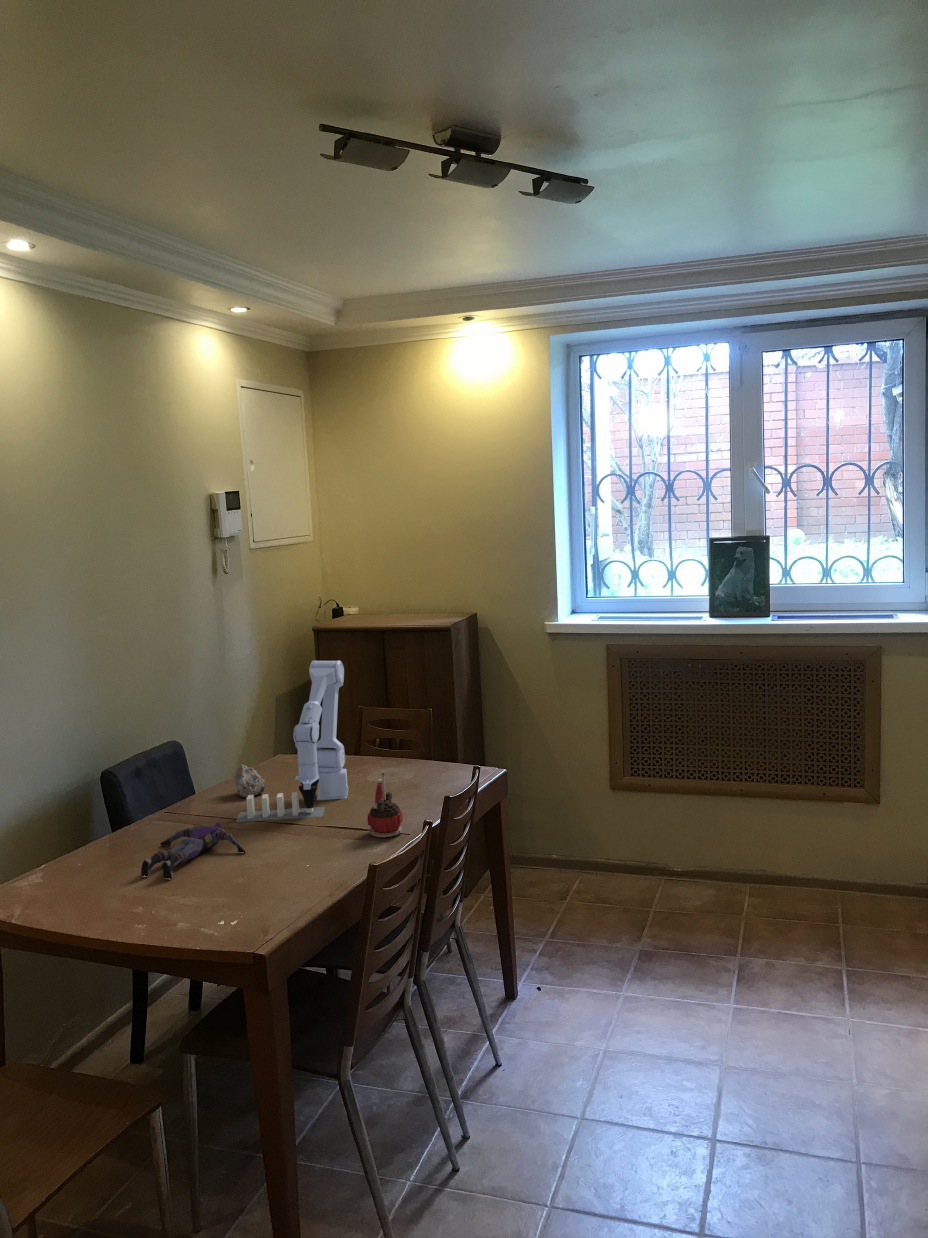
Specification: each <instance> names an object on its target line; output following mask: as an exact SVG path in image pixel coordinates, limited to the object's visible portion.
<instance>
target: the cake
mask: <svg viewBox="0 0 928 1238" xmlns="http://www.w3.org/2000/svg"><path fill="white" fill-rule="evenodd" d="M385 773H386V772H385V771H382V772H381V779H380V778H379V779H377V785H376V789H375V797H374V803H373V806H372V807H371V808H370V809H369V812H368V814H367V825H368V826H369V827H370V828H369V830H368V833H369V835H371V836H373V837H377V838H389V837H394V836H397V835H399V834H401V833H402V832H403V831H404V827H402V825H401V824H402V823H403V812H402V810H401V809H400V808H401V807H400V806H399V805H397V803H396V802H392V799H393V794H392V791H391V792H390V791H389V792H388V791H387V792H386V777H385V775H386V774H385Z"/></svg>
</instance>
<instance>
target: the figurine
mask: <svg viewBox="0 0 928 1238" xmlns="http://www.w3.org/2000/svg"><path fill="white" fill-rule="evenodd" d="M182 837H184V838H183V839H182V840H181V841H180V842H179V844H177V845H175V846H174V847H173V848H171V849H167V850H159V851H157V852H155V853H153V855H152V856H151V857H149V858H145V860H143V861H142V863H141V868H140V871H141V872H140V876H141V875H142V876H144V875H145V876H148V875H149V876H150V875H151V874H150V873H151V870H152V868H153V867H154V866H155V865H157V864H159V863H162V864H161V867H162V873H163V878H164V879H165V878H170V879H171V878H172V877H173V878H174V874H173V868H174V867H175V866H177V865H178V864H179V863H180V864H185V863H186V862H187V861H188V860H192V859H194V858H195V857H197V856H198V855H199V854H203V853H205V852H206V851H207V850H208V849H212V848H214V847H215V846H216V845H217V844H218V843H219V841H228V842H229V843H230V844H232V845H233V846H234V847H236V848H237V852H244V853H243V854H245V853H246V854H247V852H246V850H245V849H244V848H243V847H244V846H242V845H241V843H240V842H239V841H238V839H237V838H236V837H235V836H234V835H233V833H228V832H227V831H225V830H224V829H223V828H222V825H221V823H220V821H217V822H216V823H215V824H214V825H209V826H208V825H206V826H205V825H202V824H201V825H199V824H197V825H195V826H193V827H191V828H185V829H183V828H182V829H179V830H177V831H176V832H175V833H173V834H172V835H171V836H169V837H168V838H166V839H164V841H161V842H160V846H162V845H168V846H169V845H170V846H171V845H172V842H174V841H176V840H179V839H180V838H182ZM170 846H169V847H170ZM142 876H141V877H142ZM173 878H172V879H173Z"/></svg>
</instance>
